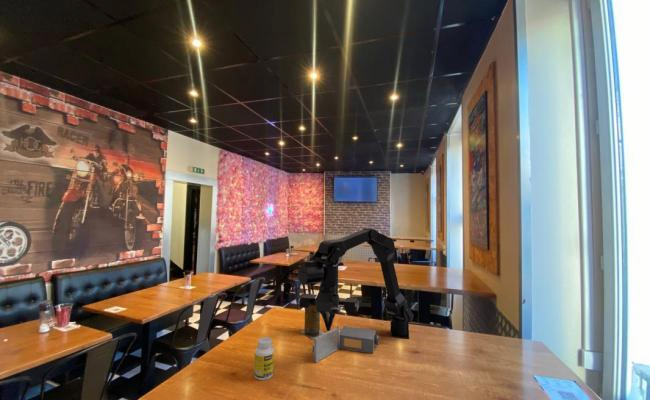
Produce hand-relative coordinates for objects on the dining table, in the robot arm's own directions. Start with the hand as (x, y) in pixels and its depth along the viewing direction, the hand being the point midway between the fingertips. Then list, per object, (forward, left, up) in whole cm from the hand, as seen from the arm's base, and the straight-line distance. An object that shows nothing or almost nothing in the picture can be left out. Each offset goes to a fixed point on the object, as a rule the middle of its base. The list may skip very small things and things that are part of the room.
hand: (328, 330), depth 84 cm
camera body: (-7, -14, -10) cm, 18 cm away
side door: (+2, -3, -9) cm, 10 cm away
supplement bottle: (+16, +13, -10) cm, 22 cm away
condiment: (+12, -18, -10) cm, 24 cm away
